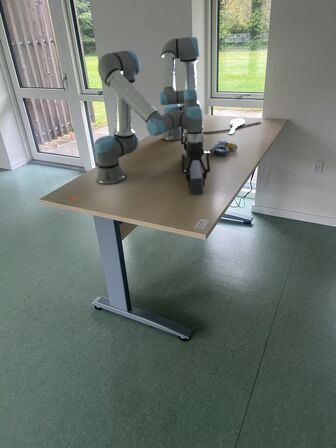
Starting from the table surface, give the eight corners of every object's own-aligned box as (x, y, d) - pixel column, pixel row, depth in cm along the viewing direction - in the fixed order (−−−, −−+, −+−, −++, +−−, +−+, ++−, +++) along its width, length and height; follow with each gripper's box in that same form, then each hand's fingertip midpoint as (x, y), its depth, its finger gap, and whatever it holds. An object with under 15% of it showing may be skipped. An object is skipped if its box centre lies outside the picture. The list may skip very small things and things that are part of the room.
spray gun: (240, 146, 220) (218, 145, 226) (240, 140, 217) (218, 139, 224) (230, 158, 204) (207, 156, 211) (230, 151, 202) (207, 150, 208)
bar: (188, 153, 217) (187, 140, 213) (196, 153, 217) (195, 140, 213) (191, 194, 166) (191, 178, 162) (202, 193, 166) (201, 178, 162)
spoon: (237, 136, 244) (237, 133, 243) (223, 136, 248) (223, 133, 247) (246, 120, 270) (246, 118, 269) (232, 120, 274) (232, 117, 273)
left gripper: (174, 144, 156) (177, 189, 168) (216, 142, 155) (216, 187, 167) (174, 140, 163) (177, 183, 175) (214, 137, 161) (215, 180, 173)
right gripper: (174, 119, 196) (177, 157, 208) (208, 117, 194) (208, 155, 206) (174, 116, 202) (177, 153, 214) (207, 114, 201) (207, 151, 213)
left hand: (196, 185), depth 171 cm, fingers open, 7 cm apart
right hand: (192, 154), depth 210 cm, fingers open, 7 cm apart
